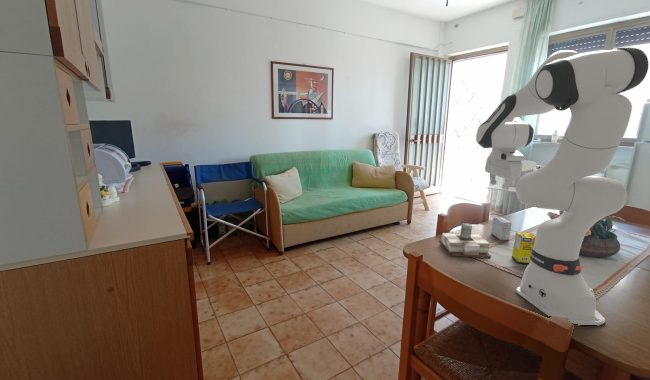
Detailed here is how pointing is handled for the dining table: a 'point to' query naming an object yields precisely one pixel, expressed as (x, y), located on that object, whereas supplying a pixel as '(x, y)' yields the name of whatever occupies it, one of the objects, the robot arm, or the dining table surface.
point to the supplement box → (523, 247)
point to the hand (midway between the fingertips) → (498, 186)
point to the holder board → (465, 245)
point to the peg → (465, 232)
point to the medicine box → (501, 228)
